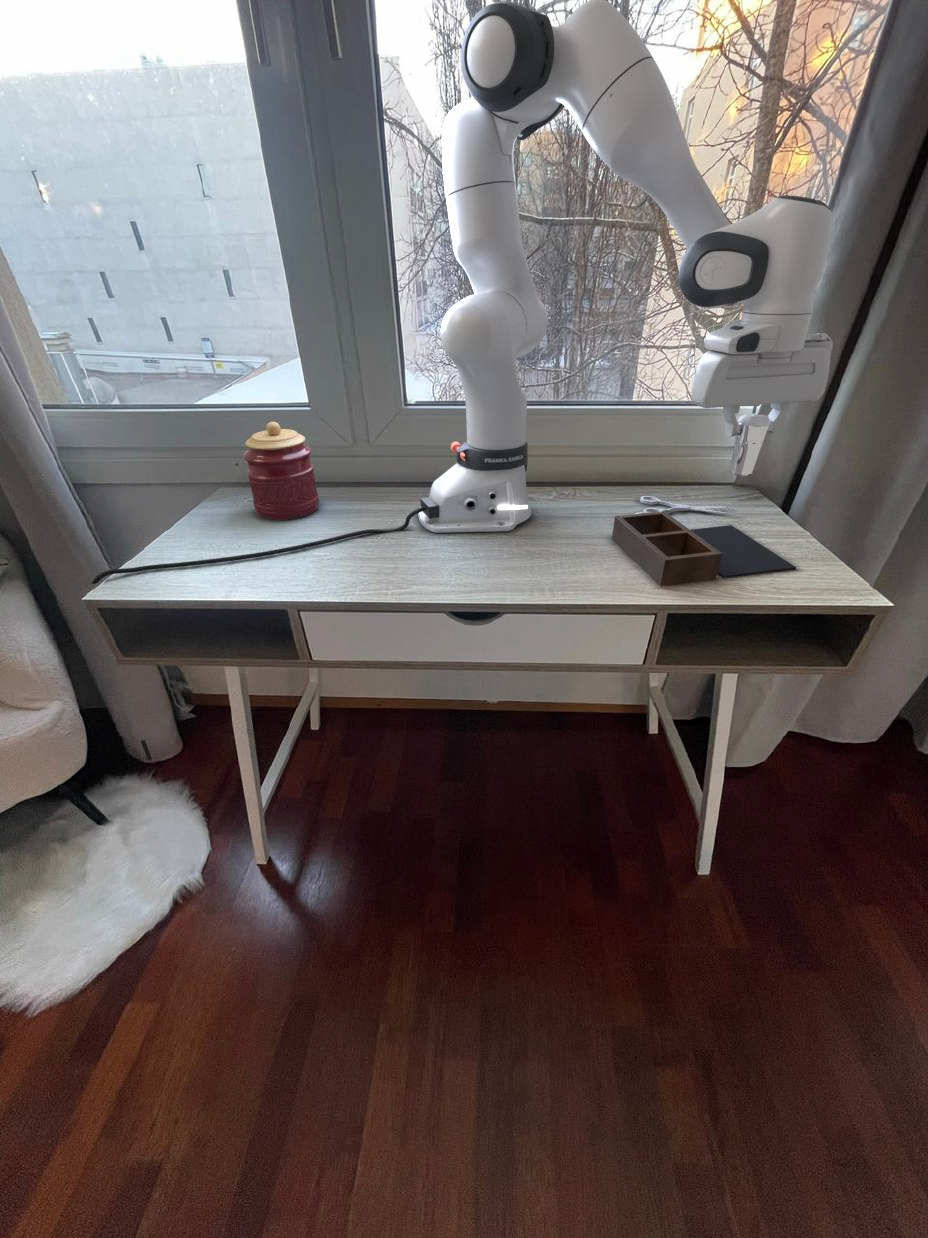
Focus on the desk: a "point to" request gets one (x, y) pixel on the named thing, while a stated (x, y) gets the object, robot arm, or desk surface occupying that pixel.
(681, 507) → the scissors
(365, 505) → the desk surface
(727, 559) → the mouse pad
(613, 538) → the caddy
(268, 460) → the kitchen canister
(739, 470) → the milkshake
